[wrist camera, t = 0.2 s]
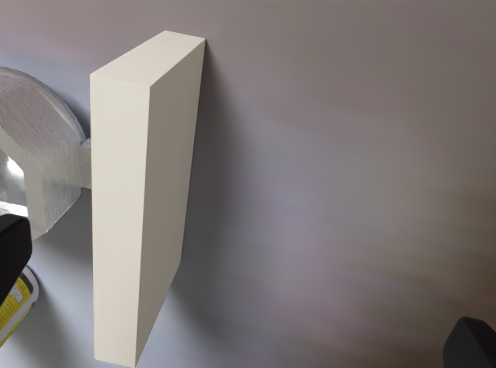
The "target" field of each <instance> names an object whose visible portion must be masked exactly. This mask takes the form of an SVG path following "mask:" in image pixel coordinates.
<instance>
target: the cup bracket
mask: <svg viewBox="0 0 496 368" xmlns="http://www.w3.org/2000/svg"><path fill="white" fill-rule="evenodd" d="M81 187H84V188H88V189H92V167H91V139H90V138H89V139H87V140H86V138H85V135H84V132H83V130H82V128H81V126H80V124H79V122H78V120H77V118H76V117H75V115H74V114H73V112H72V111H71V109H70V108H69V107H68V106H67V104H66V103H65V102H64V101H63V100H62V99H61V98H60V97H59V96H58V95H57V94H56V93H55V92H54V91H53V90H51V89H50V88H49V87H48V86H46V85H45V84H43V83H42V82H41V81H39V80H37V79H35V78H34V77H32V76H30V75H28V74H26V73H23V72H21V71H18V70H15V69H11V68H7V67H0V216H1V215H4V214H7V213H11V214H16V215H20V216H25V217H27V218H28V219H29V221H30V226H31V237H32V241H34V240H35V239H37V238H38V237H40V236H42V235H43V234H45V233H47V232H48V231H49V230H50V229H51V228H52V227H53V225H54V224H55V223H56V222H57V221H58V220H59V219H60V218H61V217H62V216H63V215H64V214H65V213H66V212H67V210H68V209H69V208H70V207H71V206H72V205H73V204H74V203H75V202H76V201H77V200H78V199H79V198H80V197H81V195H82V194H81Z"/></svg>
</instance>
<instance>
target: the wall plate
mask: <svg viewBox="0 0 496 368" xmlns="http://www.w3.org/2000/svg"><path fill="white" fill-rule="evenodd" d="M205 40H206V39H205V38H200V37H195V36H190V35H185V34H180V33H175V32H170V31H163V32H162V33H160V34H158V35H156V36H155V37H153V38H151V39H150V40H148V41H146V42H144V43H143V44H141V45H139V46H138V47H136V48H134V49H132V50H131V51H129V52H127V53H125V54H124V55H122V56H120V57H119V58H117V59H115V60H113V61H112V62H110V63H108V64H107V65H105V66H103V67H101V68H100V69H98V70H96V71H95V72H93V73H91V74H90V104H91V167H92V230H93V293H94V356H95V359H96V360H100V361H105V362H109V363H113V364H117V365H122V366H126V367H130V368H135V367H136V365H137V362H138V360H139V358H140V355H141V353H142V351H143V349H144V346H145V344H146V342H147V339H148V337H149V335H150V332H151V330H152V328H153V325H154V323H155V321H156V318H157V316H158V314H159V311H160V309H161V307H162V304H163V302H164V300H165V298H166V295H167V293H168V291H169V288H170V286H171V284H172V281H173V279H174V277H175V274H176V272H177V270H178V267H179V265H180V263H181V254H182V245H183V236H184V227H185V218H186V209H187V200H188V191H189V183H190V174H191V165H192V156H193V147H194V138H195V129H196V120H197V111H198V102H199V94H200V85H201V76H202V67H203V58H204V49H205Z"/></svg>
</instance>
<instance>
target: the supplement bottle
mask: <svg viewBox="0 0 496 368" xmlns="http://www.w3.org/2000/svg"><path fill="white" fill-rule="evenodd" d="M38 296H39V287H38V283H37V281H36V279H35V277H34V275H33V274H32V272H31V271H30V270H29V269H28V268H27V267H26V266H25V268H24V270H23V271H22V273H21V275H20V276H19V278H18V280H17V281H16V283H15V285H14V286H13V288H12V290H11V291H10V293H9V295H8V296H7V298H6V300H5V301H4V303H3V305H2V306H1V308H0V348H1V346H2V345H3V344H4V343H5V341H6V340H7V339H8V337H9V336H10V335H11V334H12V332H13V331H14V330H15V329H16V328H17V326H18V325H19V324H20V323H21V321H22V320H23V319H24V317H25V316H26V315H27V314H28V312H29V311H30V310H31V308H32V307H33V306H34V304H35V303H36V301H37V299H38Z"/></svg>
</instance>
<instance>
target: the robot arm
mask: <svg viewBox="0 0 496 368" xmlns="http://www.w3.org/2000/svg"><path fill="white" fill-rule="evenodd" d="M31 254H32V237H31V226H30V221H29V219H28V218H27V217H25V216H20V215H16V214H11V213H7V214H4V215H1V216H0V308H1V306H2V305H3V303H4V301H5V300H6V298H7V296H8V295H9V293H10V291H11V290H12V288H13V286H14V285H15V283H16V281H17V280H18V278H19V276H20V275H21V273H22V271H23V270H24V268H25V266H26V265H27V263H28V261H29V259H30V257H31ZM443 362H444V368H496V332H495V331H494V330H493V329H492V328H491V327H490V326H489V325H488V324H487V323H486V322H484V321H482V320H480V319H475V318H471V317H466V316H463V317H461V318H459V319H458V321H457V322H456V324H455V326H454V328H453V329H452V331H451V333H450V335H449V336H448V338H447V340H446V342H445V344H444V347H443Z"/></svg>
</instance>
